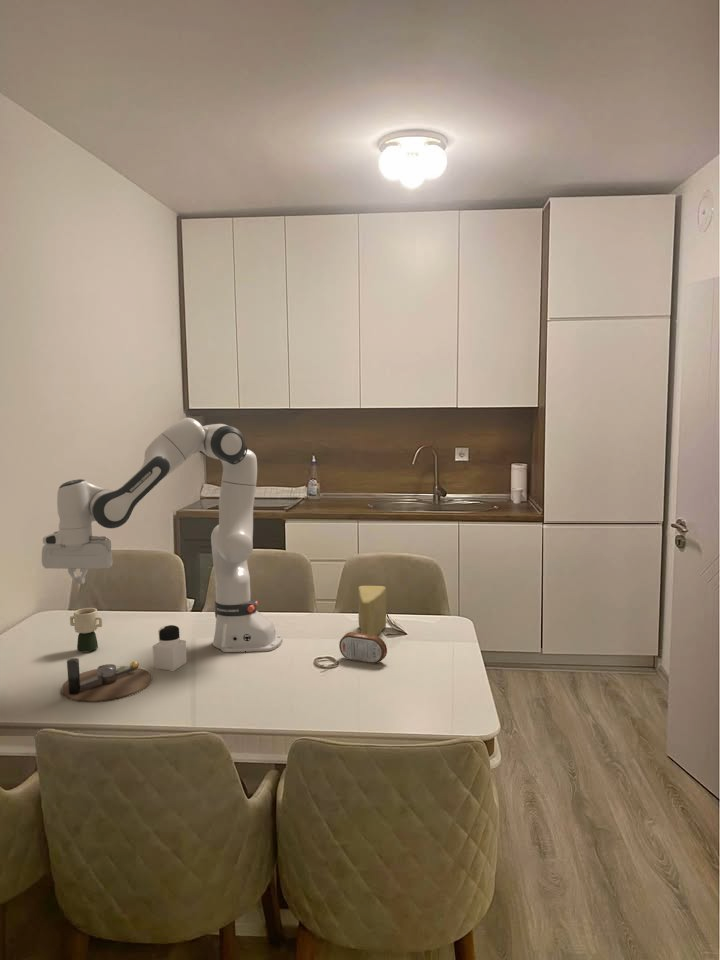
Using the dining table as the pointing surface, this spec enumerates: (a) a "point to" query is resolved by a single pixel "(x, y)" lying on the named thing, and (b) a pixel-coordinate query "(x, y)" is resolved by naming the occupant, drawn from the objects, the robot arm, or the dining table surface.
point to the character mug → (86, 628)
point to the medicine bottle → (169, 649)
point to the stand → (111, 686)
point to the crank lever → (105, 676)
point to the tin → (363, 647)
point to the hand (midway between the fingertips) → (79, 583)
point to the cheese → (372, 609)
